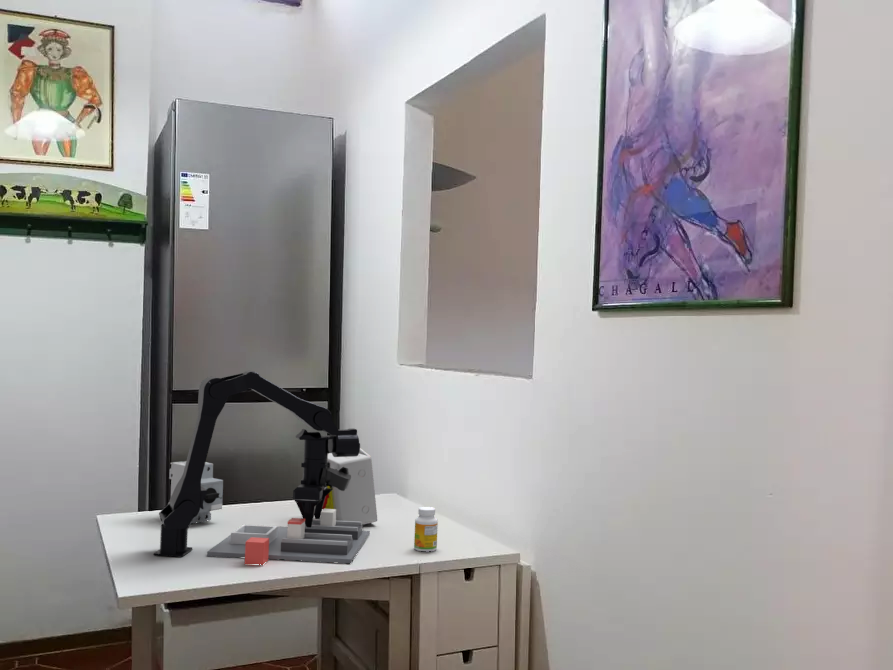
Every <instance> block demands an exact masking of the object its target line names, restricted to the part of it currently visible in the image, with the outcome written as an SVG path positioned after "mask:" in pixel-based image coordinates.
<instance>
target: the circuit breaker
mask: <svg viewBox="0 0 893 670" xmlns="http://www.w3.org/2000/svg"><path fill="white" fill-rule="evenodd" d="M185 464H186V460H184V461H173V462H170V465H171V466H170V468H169V472H168V473H169V477H168V479H169V480H171V482H170V483H171V484H170V497H171V496H172V494H173V492H174V489H175V487H176V485H177V484H178V482H179V480H180V479H181V477H182V475H183V472H184V468H185ZM201 486H203V487H204V488H205V489H206V490H207V494H206V496H205V498H204V501H203V509H201V508H200V511H199V513H198V515H197V516H196V517H194V518H193V519H192V520H191V522H190V525H192V524H191V523H195V524H197V523H196V522H201V523H203V522H202V521H206V522H208V521H207V520H211V521H212V513H211V512H212V511H217V510H218V511H219V510H223V495H224V493H223V492H224V491H223V490H224V479H220V478H214V463H212V462H207V461H206V462H205V466H204V470H203V474H202V478H201ZM169 503H170V501H169V502H168V503H167V505H168V504H169Z"/></svg>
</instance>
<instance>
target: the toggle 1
mask: <svg viewBox="0 0 893 670" xmlns="http://www.w3.org/2000/svg"><path fill="white" fill-rule="evenodd" d="M287 527H288V532H287V538H295V539H303V538H304V535H305V518H303V517H302V518H301V517H291V518H290V519H289V520H288V521H287Z"/></svg>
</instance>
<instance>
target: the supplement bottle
mask: <svg viewBox="0 0 893 670" xmlns="http://www.w3.org/2000/svg"><path fill="white" fill-rule="evenodd" d="M417 513H418V516H417V517H416V518H415V520H414V537H413V538H414V539H413V540H414V541H413V548H414V550H415V551H418V552H421V551H426V552H425V553H430V552H429V551H431V552H434V551H436V550H438V549H437V548H438V526H439V521H438V519H437V517H436V516H435V515H436V507H432V506H420V507H418V511H417Z"/></svg>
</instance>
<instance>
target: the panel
mask: <svg viewBox="0 0 893 670" xmlns="http://www.w3.org/2000/svg"><path fill="white" fill-rule="evenodd" d="M320 520H321V519H315V518H313V522H312V527H306V524H305V535H304V538H303V539H295V538H287V532H288V526H279V525H277V526H276V525H264V524H263V525H260V524H241V525H240V526H239V527H237V528H235V529H234V530H232V531H231V532H230V535H228V536H227V537H225V538H224V539H223V540H221V541H220V542H218V543H217V544H216V545H214V546H213V547H211V548H210V549H209V550H208V551H207V552H206V556H207V557H213V556H217V558H219V557H220V558H231V557H245V543H246V541H247V540H248V539H250V538H251V537H255V538H269V556H268V559H285V560H284V561H286V560H302V561H301V562H305V561H313V562H312V563H316V562H315V561H319V562H318V563H323V562H338V563H337V564H341V563H351V562H352V563H353V561H354V560H355V558H356V557H357V555H358V554H359V552H360V551H361V549H362V547H363V546H364V544H365V543H366V541H367V539H368V538H369V537H370V534H371V533H370V532H371V531H370V530H363V526H364V525H362V522H356V521H337V520H336V525H335V526H325V525H320ZM359 550H360V551H359ZM358 551H359V552H358ZM357 553H358V554H357ZM356 554H357V555H356ZM355 556H356V557H355ZM354 557H355V558H354ZM353 559H354V560H353ZM352 560H353V561H352ZM320 561H321V562H320ZM352 563H351V564H352Z"/></svg>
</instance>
